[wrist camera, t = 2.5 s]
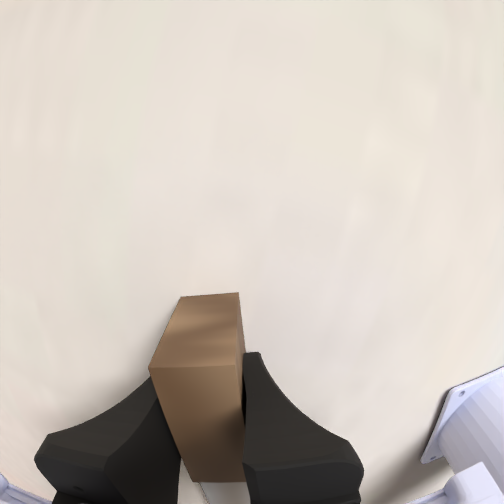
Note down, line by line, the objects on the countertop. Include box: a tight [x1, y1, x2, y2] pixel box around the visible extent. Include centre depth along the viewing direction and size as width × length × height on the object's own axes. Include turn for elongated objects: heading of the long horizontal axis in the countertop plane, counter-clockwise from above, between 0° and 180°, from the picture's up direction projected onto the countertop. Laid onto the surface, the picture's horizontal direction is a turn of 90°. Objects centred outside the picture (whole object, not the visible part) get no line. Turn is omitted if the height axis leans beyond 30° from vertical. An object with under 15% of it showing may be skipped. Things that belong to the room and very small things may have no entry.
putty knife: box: [148, 292, 250, 504], centre depth 13 cm, size 5×22×5 cm, turn 5°
